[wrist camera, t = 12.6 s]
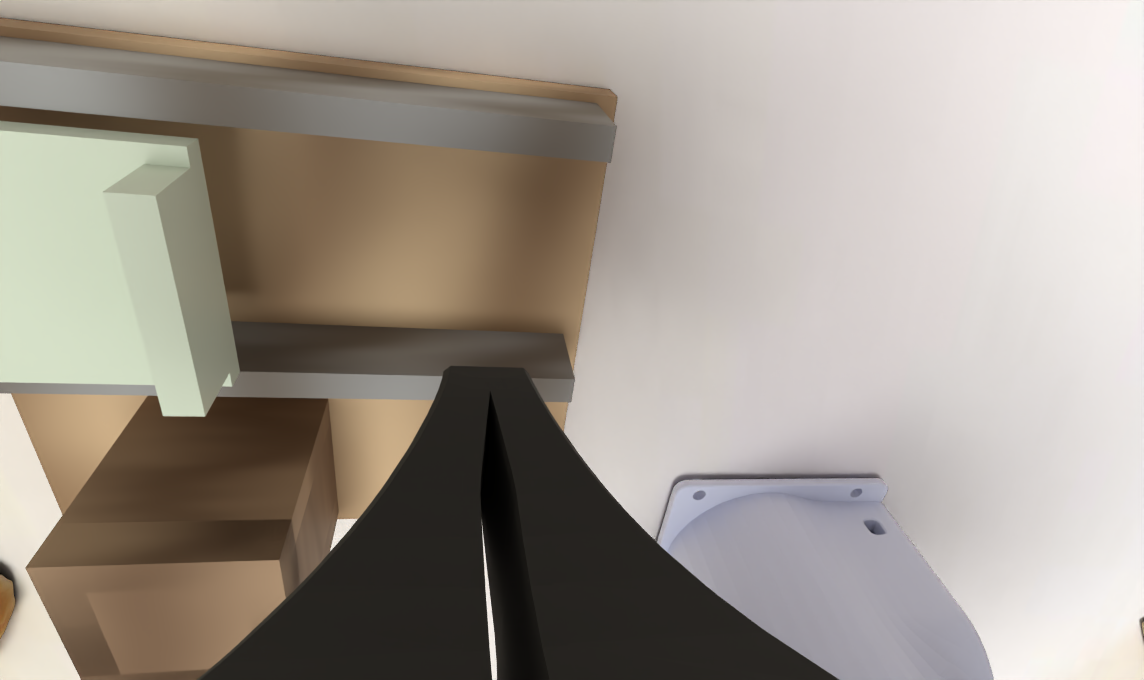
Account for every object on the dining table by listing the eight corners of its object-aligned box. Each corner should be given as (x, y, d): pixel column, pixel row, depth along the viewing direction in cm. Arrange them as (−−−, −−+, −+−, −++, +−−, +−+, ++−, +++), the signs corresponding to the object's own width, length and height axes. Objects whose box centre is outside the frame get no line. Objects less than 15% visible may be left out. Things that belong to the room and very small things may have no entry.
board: (609, 89, 16) (640, 119, 13) (546, 495, 24) (557, 568, 21) (-113, 4, 13) (-273, 19, 10) (82, 501, 21) (22, 588, 18)
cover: (198, 138, 12) (149, 172, 10) (240, 372, 15) (208, 431, 13) (-146, 107, 11) (-269, 140, 9) (-29, 365, 14) (-105, 429, 12)
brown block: (328, 398, 19) (279, 560, 14) (338, 512, 22) (300, 682, 17) (147, 395, 18) (25, 567, 13) (181, 514, 21) (89, 697, 16)
